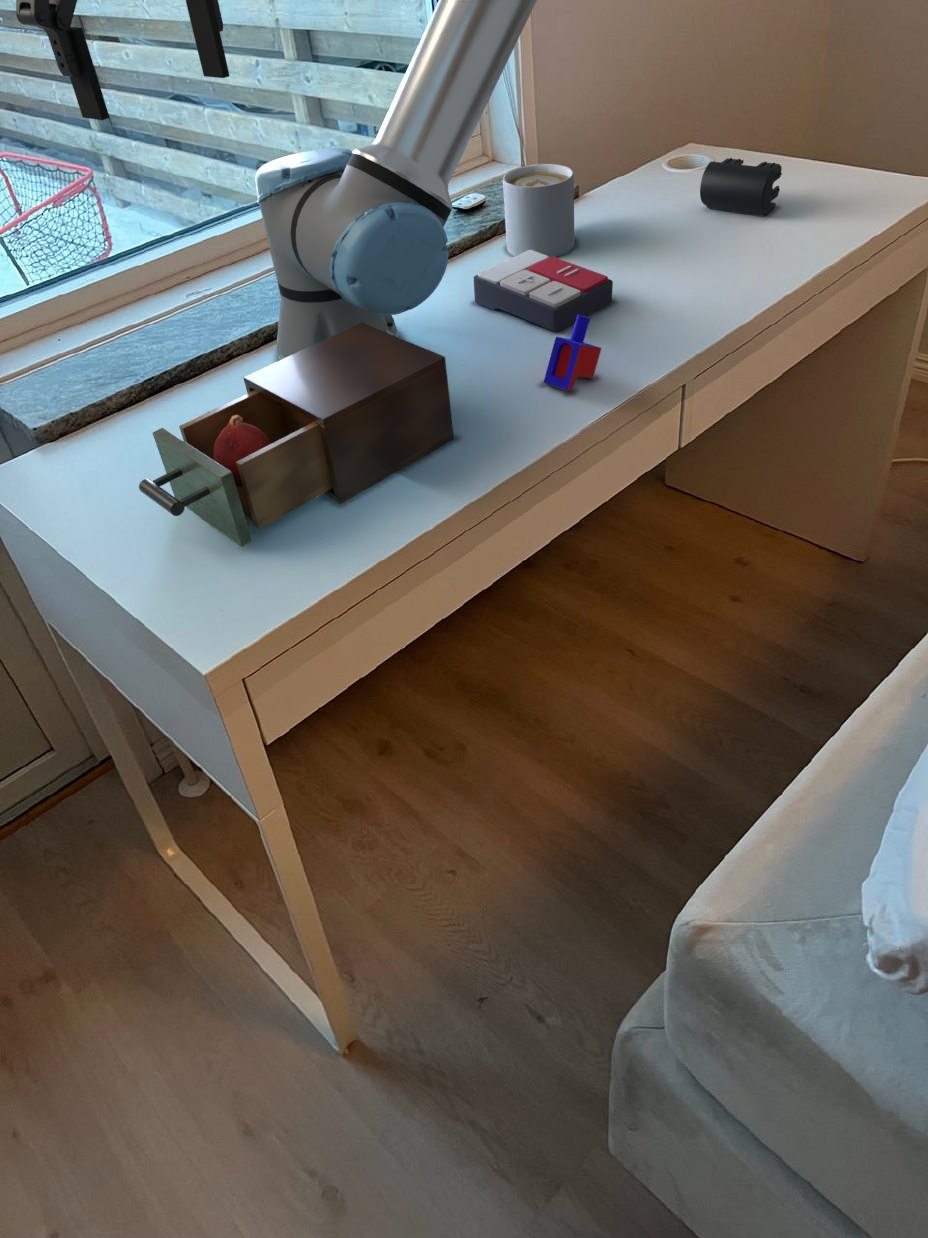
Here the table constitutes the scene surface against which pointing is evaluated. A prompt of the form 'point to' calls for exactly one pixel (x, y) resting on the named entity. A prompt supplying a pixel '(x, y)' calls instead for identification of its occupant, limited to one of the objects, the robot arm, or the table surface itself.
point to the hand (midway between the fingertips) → (159, 96)
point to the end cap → (740, 186)
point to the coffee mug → (539, 209)
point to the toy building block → (572, 357)
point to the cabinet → (365, 402)
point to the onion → (238, 445)
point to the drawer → (242, 467)
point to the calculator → (542, 289)
